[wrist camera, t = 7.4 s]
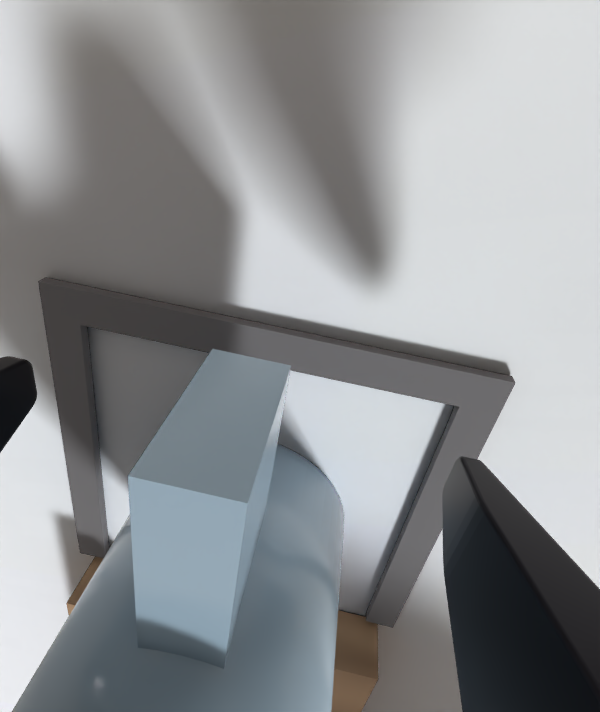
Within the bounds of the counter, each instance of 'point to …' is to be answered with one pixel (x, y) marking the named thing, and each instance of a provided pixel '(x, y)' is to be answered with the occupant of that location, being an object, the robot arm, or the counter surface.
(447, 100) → the counter surface
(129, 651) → the jug
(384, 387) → the frame
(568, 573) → the robot arm
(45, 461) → the counter surface
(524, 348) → the counter surface
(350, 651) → the cradle
